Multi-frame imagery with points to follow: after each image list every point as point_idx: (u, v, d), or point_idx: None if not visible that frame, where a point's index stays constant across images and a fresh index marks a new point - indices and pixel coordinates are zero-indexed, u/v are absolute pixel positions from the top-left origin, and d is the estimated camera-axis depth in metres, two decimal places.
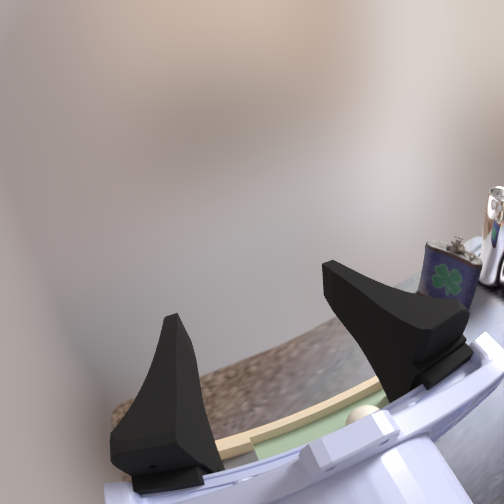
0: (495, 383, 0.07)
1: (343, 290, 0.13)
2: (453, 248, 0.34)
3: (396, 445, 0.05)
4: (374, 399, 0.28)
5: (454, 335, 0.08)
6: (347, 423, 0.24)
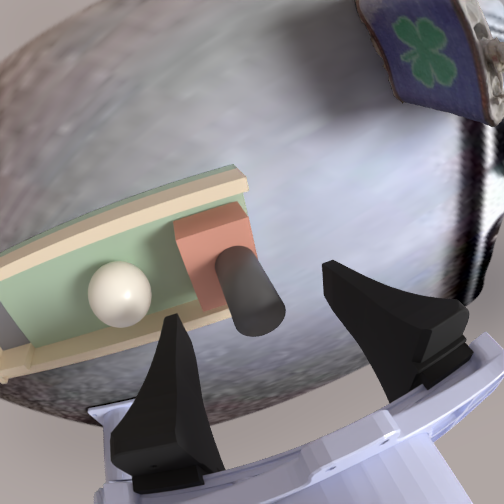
0: (495, 383, 0.07)
1: (343, 290, 0.13)
2: (490, 50, 0.09)
3: (396, 445, 0.05)
4: (149, 223, 0.18)
5: (454, 335, 0.08)
6: (89, 301, 0.16)
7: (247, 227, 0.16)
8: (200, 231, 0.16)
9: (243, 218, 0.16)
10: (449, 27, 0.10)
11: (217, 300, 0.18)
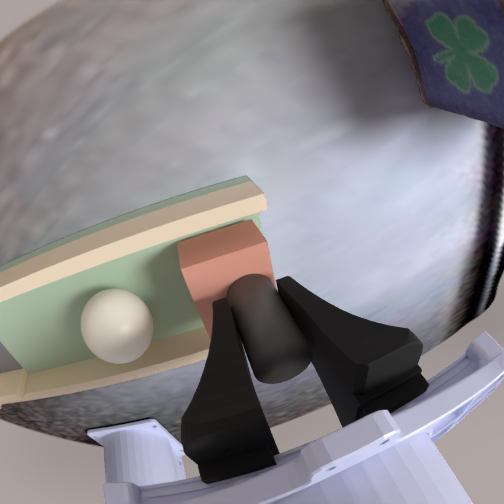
0: (495, 383, 0.07)
1: (294, 310, 0.12)
2: None
3: (396, 445, 0.05)
4: None
5: (405, 367, 0.08)
6: (82, 335, 0.13)
7: (265, 253, 0.14)
8: (210, 258, 0.13)
9: (261, 242, 0.14)
10: (494, 28, 0.07)
11: None
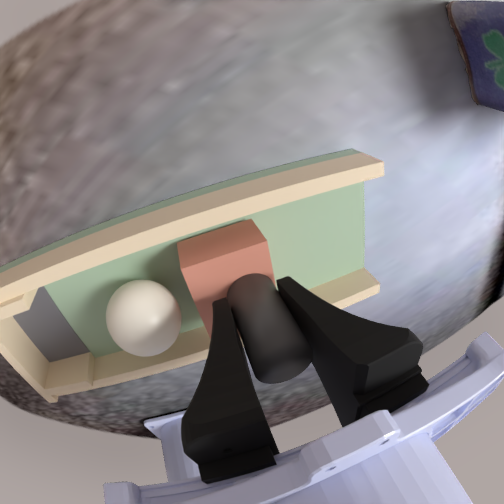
0: (495, 383, 0.07)
1: (294, 310, 0.12)
2: None
3: (396, 445, 0.05)
4: None
5: (405, 366, 0.08)
6: None
7: (265, 252, 0.14)
8: (210, 257, 0.13)
9: (261, 242, 0.14)
10: None
11: None
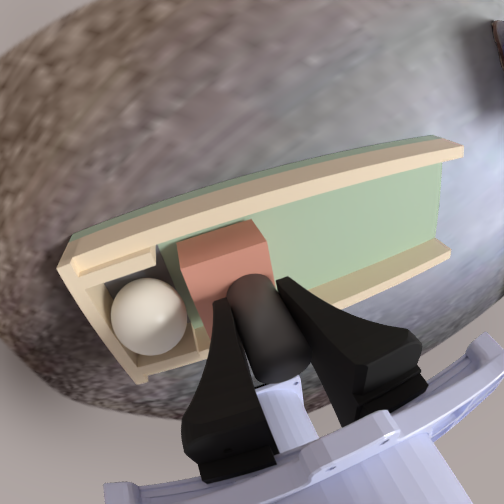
0: (495, 383, 0.07)
1: (293, 310, 0.12)
2: None
3: (396, 445, 0.05)
4: None
5: (404, 367, 0.08)
6: (117, 330, 0.13)
7: (265, 253, 0.14)
8: (210, 258, 0.13)
9: (261, 242, 0.14)
10: None
11: None
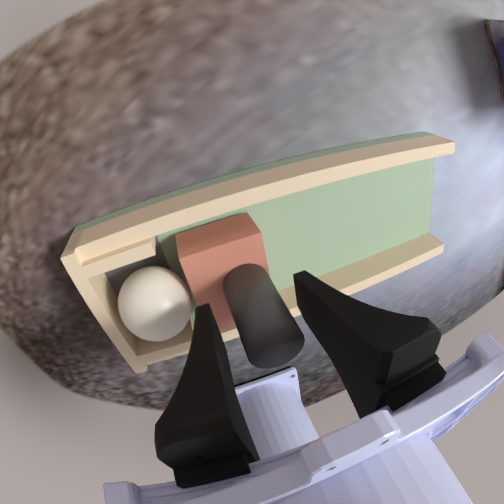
0: (495, 383, 0.07)
1: (312, 303, 0.13)
2: None
3: (396, 445, 0.05)
4: None
5: (424, 355, 0.08)
6: (128, 318, 0.14)
7: (259, 243, 0.15)
8: (207, 248, 0.14)
9: (256, 233, 0.14)
10: None
11: (225, 321, 0.16)
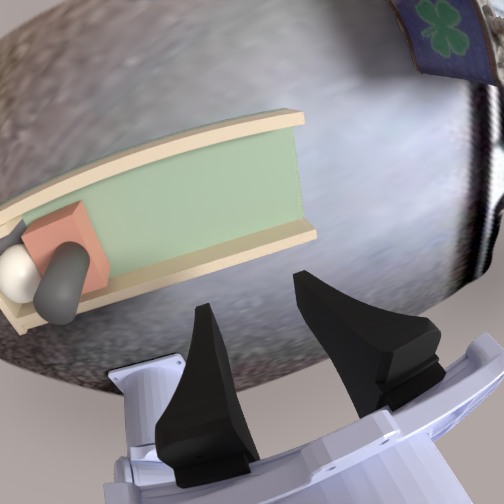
0: (495, 383, 0.07)
1: (312, 303, 0.13)
2: (495, 25, 0.10)
3: (396, 445, 0.05)
4: (206, 152, 0.18)
5: (424, 355, 0.08)
6: None
7: (73, 224, 0.15)
8: (38, 228, 0.15)
9: (68, 215, 0.15)
10: (462, 7, 0.11)
11: None
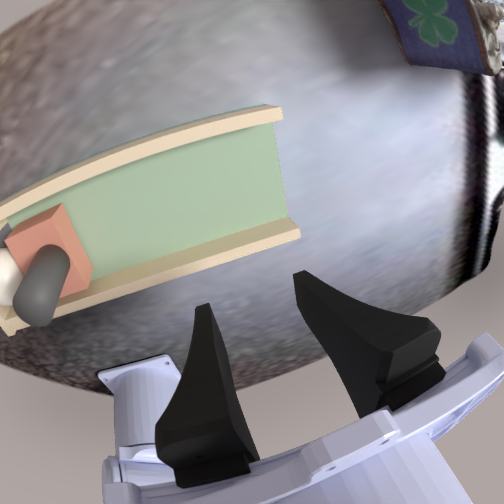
0: (495, 383, 0.07)
1: (312, 303, 0.13)
2: (484, 10, 0.09)
3: (396, 445, 0.05)
4: (184, 152, 0.18)
5: (424, 355, 0.08)
6: None
7: (52, 227, 0.15)
8: (20, 232, 0.14)
9: (48, 219, 0.14)
10: None
11: None
